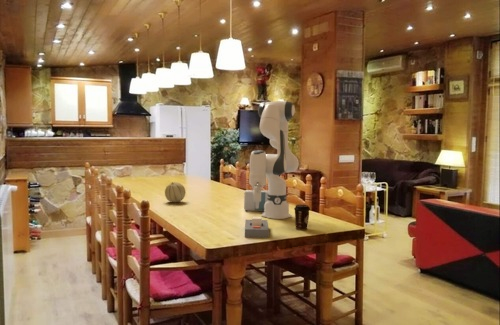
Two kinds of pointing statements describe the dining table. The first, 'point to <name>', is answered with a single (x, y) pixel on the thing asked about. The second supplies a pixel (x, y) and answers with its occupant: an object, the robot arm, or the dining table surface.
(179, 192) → the cantaloupe
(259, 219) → the plug
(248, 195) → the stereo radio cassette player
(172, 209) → the dining table surface
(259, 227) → the socket block
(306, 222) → the coffee cup
